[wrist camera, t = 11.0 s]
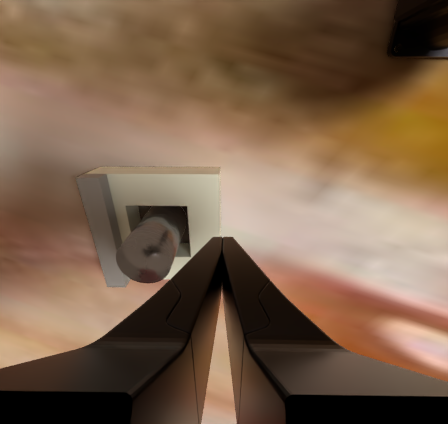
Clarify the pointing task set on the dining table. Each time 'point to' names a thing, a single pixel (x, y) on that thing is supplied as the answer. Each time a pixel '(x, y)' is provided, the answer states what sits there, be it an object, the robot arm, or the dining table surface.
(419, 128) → the dining table surface
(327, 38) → the dining table surface
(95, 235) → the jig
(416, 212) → the dining table surface
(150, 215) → the metal cylinder rod
